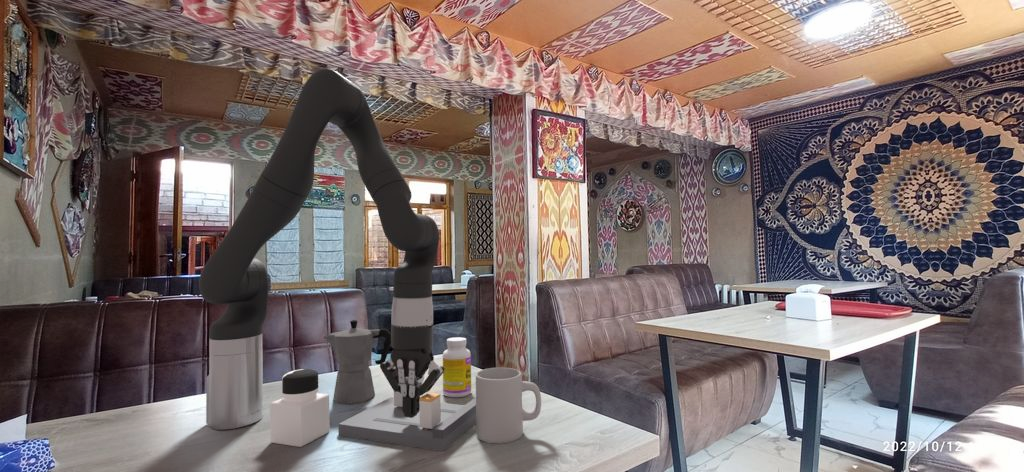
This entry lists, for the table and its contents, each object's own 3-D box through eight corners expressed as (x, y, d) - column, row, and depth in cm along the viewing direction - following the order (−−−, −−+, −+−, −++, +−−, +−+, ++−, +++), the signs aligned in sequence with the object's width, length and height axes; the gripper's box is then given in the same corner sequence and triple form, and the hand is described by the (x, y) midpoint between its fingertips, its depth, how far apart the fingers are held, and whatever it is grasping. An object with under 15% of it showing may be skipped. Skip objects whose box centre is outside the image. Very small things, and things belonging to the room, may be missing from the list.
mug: (472, 443, 77) (471, 379, 78) (480, 424, 86) (479, 367, 86) (541, 445, 76) (539, 380, 77) (542, 425, 85) (541, 367, 85)
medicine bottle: (330, 432, 84) (329, 367, 84) (300, 448, 77) (300, 378, 77) (300, 428, 86) (300, 365, 87) (269, 443, 79) (269, 375, 80)
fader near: (419, 427, 79) (419, 398, 79) (429, 420, 82) (428, 392, 82) (431, 428, 78) (431, 399, 78) (440, 422, 81) (440, 393, 81)
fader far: (393, 405, 90) (393, 380, 91) (403, 400, 93) (402, 376, 94) (403, 407, 90) (403, 381, 90) (412, 401, 93) (412, 377, 93)
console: (338, 434, 82) (338, 415, 82) (390, 406, 97) (390, 390, 97) (443, 451, 75) (442, 430, 75) (482, 417, 89) (482, 399, 90)
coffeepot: (319, 406, 98) (318, 324, 99) (329, 393, 107) (328, 318, 108) (391, 401, 101) (390, 321, 101) (394, 388, 110) (394, 315, 111)
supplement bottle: (469, 398, 102) (468, 341, 102) (440, 398, 102) (439, 342, 102) (472, 389, 108) (471, 336, 109) (445, 389, 108) (444, 336, 109)
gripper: (369, 322, 81) (368, 418, 80) (433, 327, 76) (431, 429, 76) (394, 316, 88) (393, 404, 87) (453, 320, 83) (452, 413, 83)
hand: (411, 415), depth 82 cm, fingers closed
